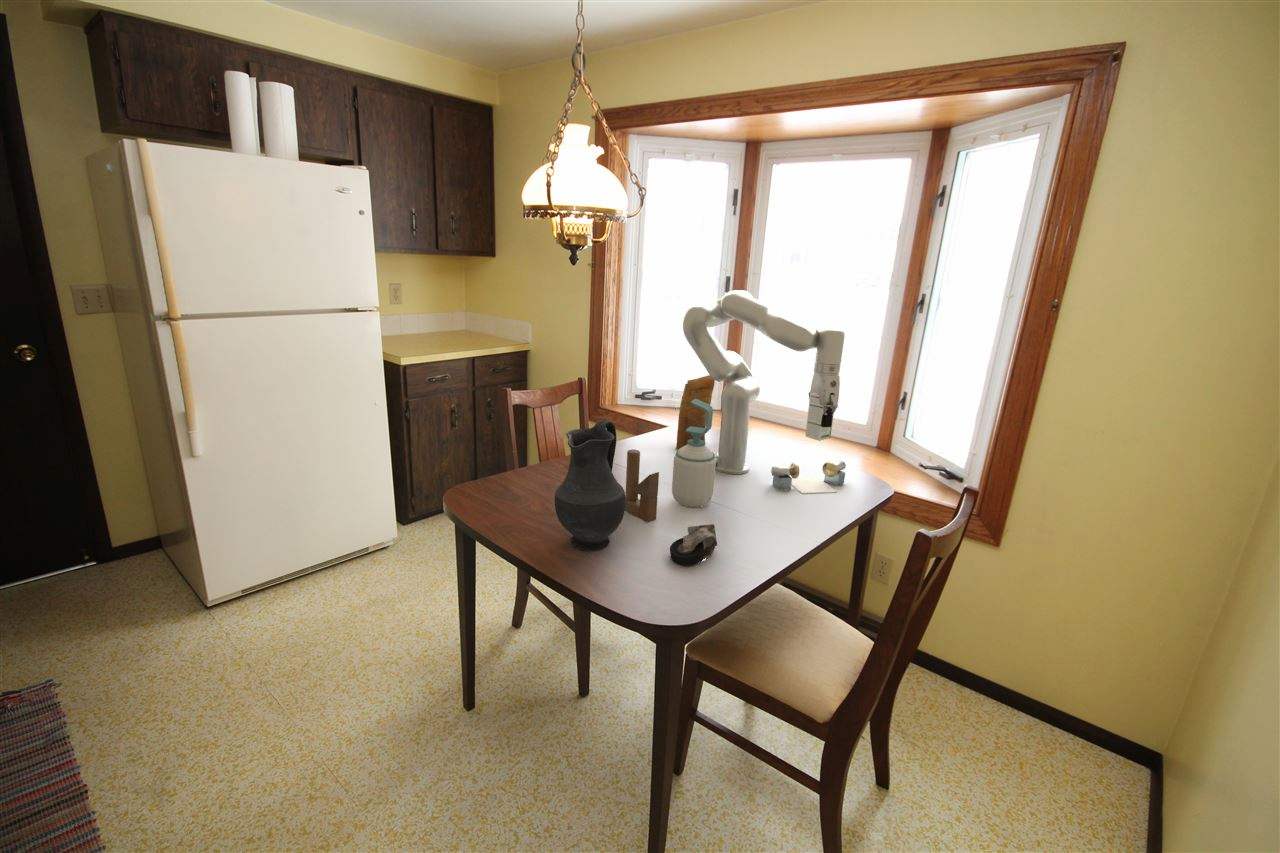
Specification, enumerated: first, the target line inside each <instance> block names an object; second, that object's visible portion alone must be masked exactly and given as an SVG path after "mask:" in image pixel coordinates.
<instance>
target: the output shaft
mask: <svg viewBox="0 0 1280 853" xmlns="http://www.w3.org/2000/svg"><path fill="white" fill-rule="evenodd" d="M846 467H847V466H846V462H845V461H843V460H838V461H836V462H831V461H828V462H825V463H824V464H823V465H822V468H821V469H822V473H823V475H824V478H823V482H824V483H826V484H827V483H828V484H830V485H833V486H836V487H839V486H841V484H842V485H844V484H843V483H845V479H846V478H845V477H846V472H845V471H843V470H845V468H846Z"/></svg>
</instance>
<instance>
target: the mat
mask: <svg viewBox="0 0 1280 853" xmlns="http://www.w3.org/2000/svg"><path fill="white" fill-rule="evenodd" d="M791 487H794V489H796V490H797V491H798V492H799V493H800V494H802V495H804V494H805V495H806V494H833V493H835V494H836V493H837V491H836V490H835V489H834V488H832V487H831V486H830V485H828V484H827V482H824V480H821V478H819V477H805V478H804V477H803V478H800V477H798V478H797V479H793V478H792V482H791Z"/></svg>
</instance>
